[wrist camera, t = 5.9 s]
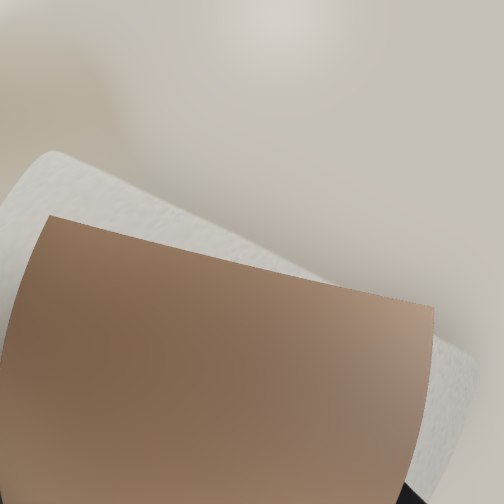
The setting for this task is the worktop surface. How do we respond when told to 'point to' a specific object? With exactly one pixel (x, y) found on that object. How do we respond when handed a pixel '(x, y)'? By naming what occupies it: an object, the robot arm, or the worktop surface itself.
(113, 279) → the walnut block
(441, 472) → the worktop surface
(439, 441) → the worktop surface
